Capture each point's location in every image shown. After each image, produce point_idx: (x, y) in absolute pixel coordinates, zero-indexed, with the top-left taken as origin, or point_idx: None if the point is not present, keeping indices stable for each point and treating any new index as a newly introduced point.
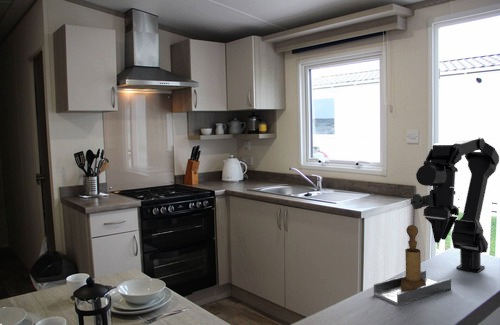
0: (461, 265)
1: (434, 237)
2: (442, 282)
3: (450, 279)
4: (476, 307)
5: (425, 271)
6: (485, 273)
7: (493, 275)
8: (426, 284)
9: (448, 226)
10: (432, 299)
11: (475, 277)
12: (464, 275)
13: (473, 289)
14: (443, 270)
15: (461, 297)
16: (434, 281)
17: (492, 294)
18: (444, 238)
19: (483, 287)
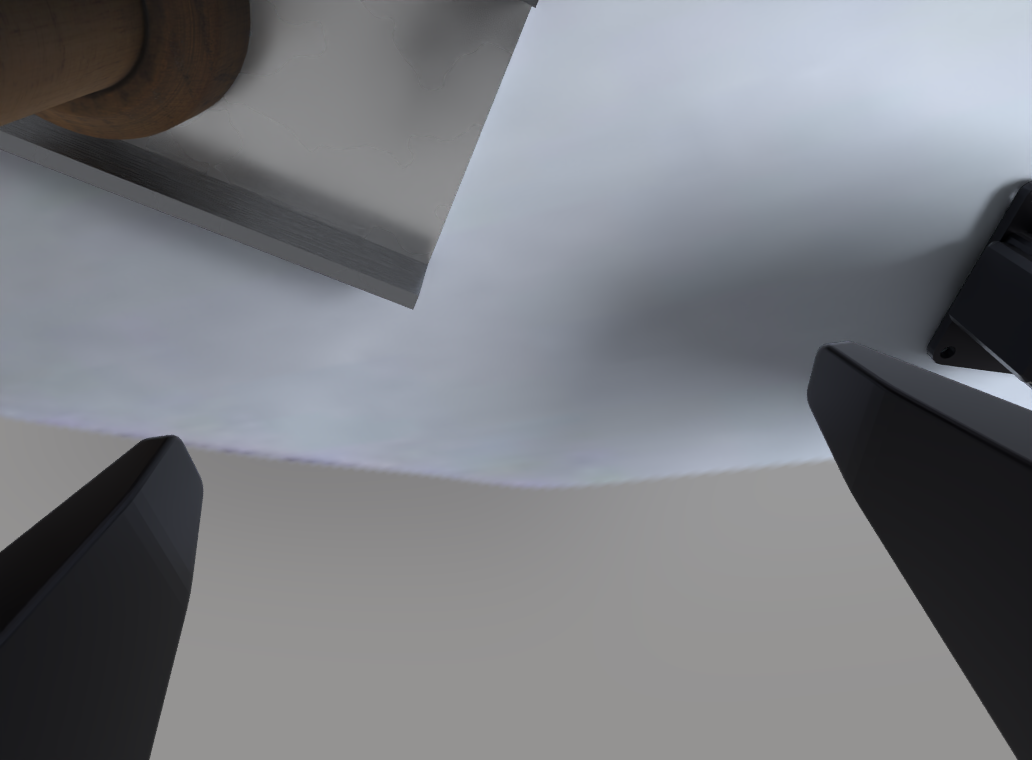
0: (1011, 251)
1: (66, 512)
2: (298, 261)
3: (406, 305)
4: (218, 450)
5: (528, 1)
6: None
7: None
8: (342, 69)
9: (1001, 666)
10: (118, 197)
11: (806, 356)
12: (835, 279)
13: (521, 389)
14: (956, 71)
15: (316, 357)
16: (475, 116)
17: (491, 483)
18: (820, 401)
19: (596, 430)
